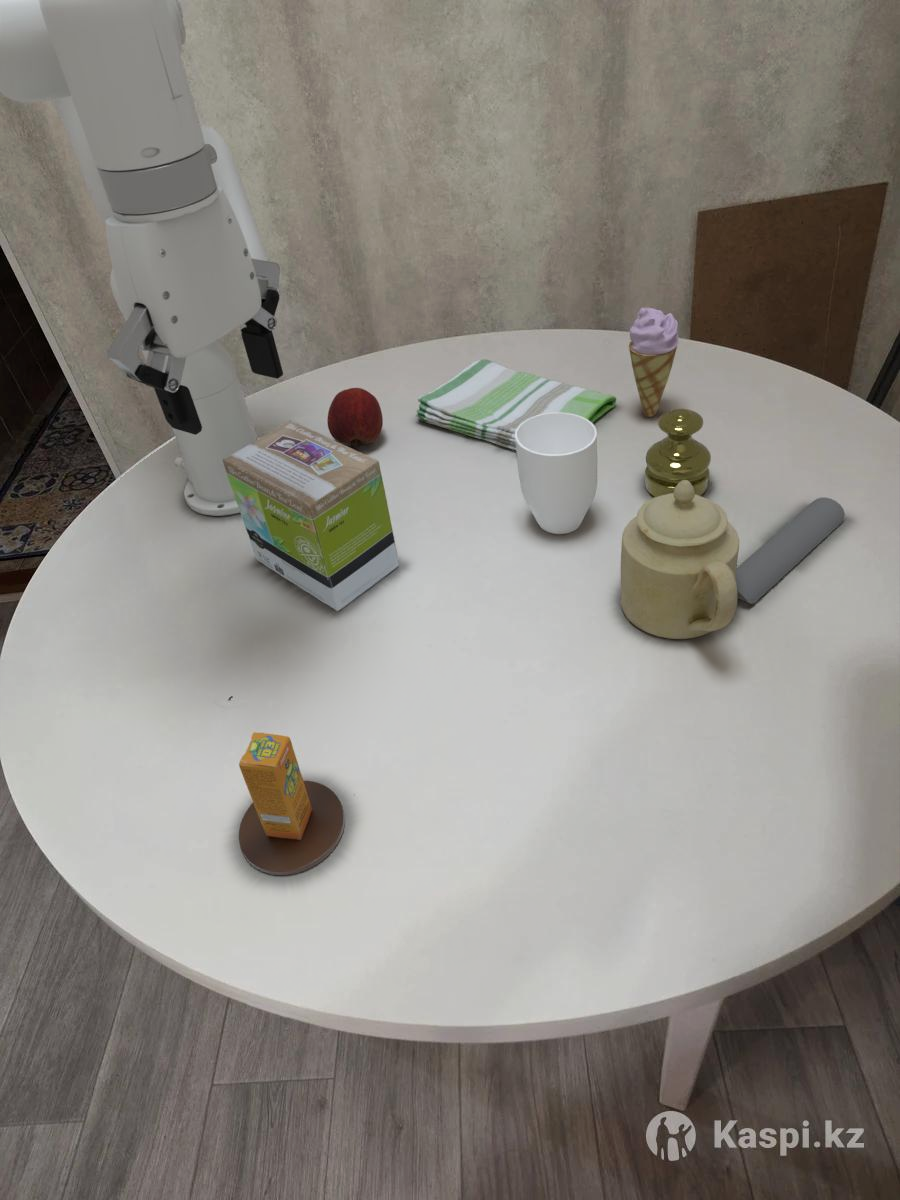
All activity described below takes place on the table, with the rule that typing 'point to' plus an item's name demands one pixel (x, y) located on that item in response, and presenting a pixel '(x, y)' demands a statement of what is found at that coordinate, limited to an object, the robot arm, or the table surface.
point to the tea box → (314, 512)
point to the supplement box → (276, 785)
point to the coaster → (294, 853)
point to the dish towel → (504, 402)
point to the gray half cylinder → (787, 548)
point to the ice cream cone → (652, 355)
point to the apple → (355, 417)
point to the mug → (557, 468)
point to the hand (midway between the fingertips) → (229, 401)
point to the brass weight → (677, 455)
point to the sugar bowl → (679, 566)
